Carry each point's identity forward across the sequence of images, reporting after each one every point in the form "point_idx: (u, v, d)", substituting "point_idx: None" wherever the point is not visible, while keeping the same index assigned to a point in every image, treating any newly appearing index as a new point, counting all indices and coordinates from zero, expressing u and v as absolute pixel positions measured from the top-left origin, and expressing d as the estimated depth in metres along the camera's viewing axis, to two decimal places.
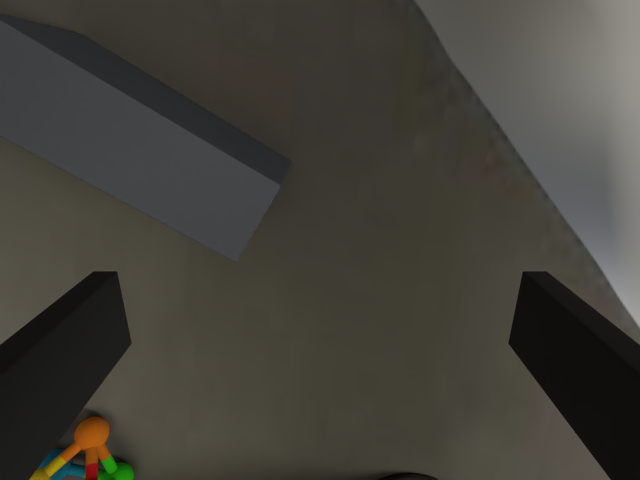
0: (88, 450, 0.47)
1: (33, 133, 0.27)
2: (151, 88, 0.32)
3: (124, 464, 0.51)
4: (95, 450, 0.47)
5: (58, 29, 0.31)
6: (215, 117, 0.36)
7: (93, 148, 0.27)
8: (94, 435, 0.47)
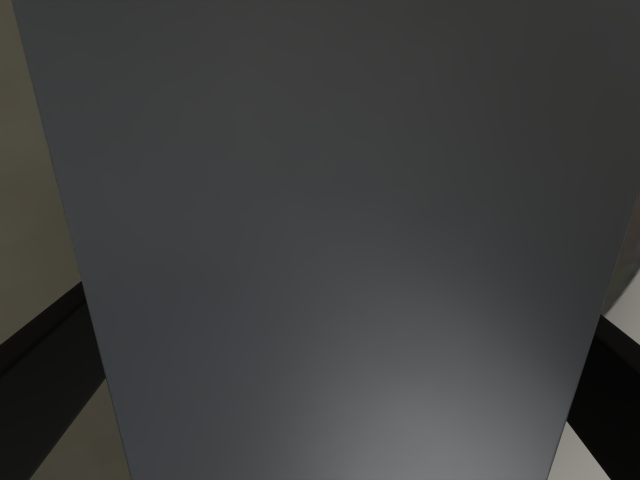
0: None
1: None
2: None
3: None
4: None
5: None
6: None
7: None
8: None
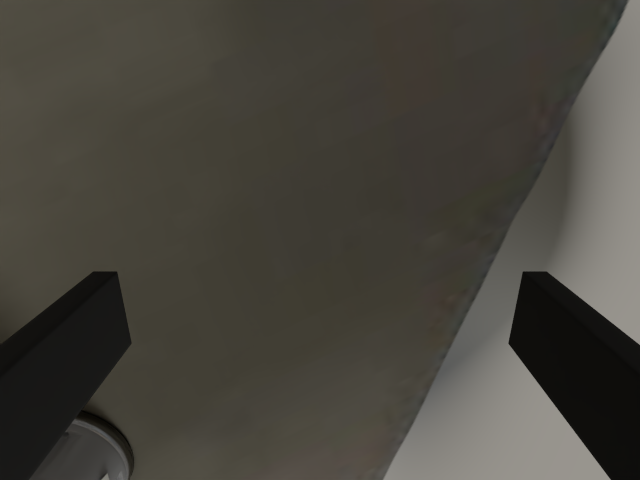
0: None
1: None
2: None
3: None
4: None
5: None
6: None
7: None
8: None
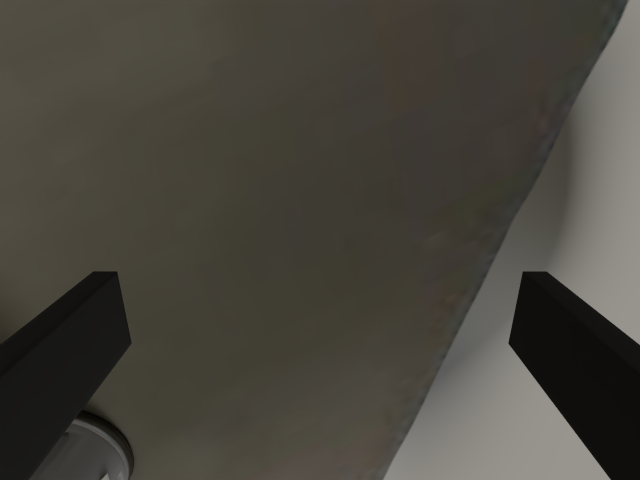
0: None
1: None
2: None
3: None
4: None
5: None
6: None
7: None
8: None
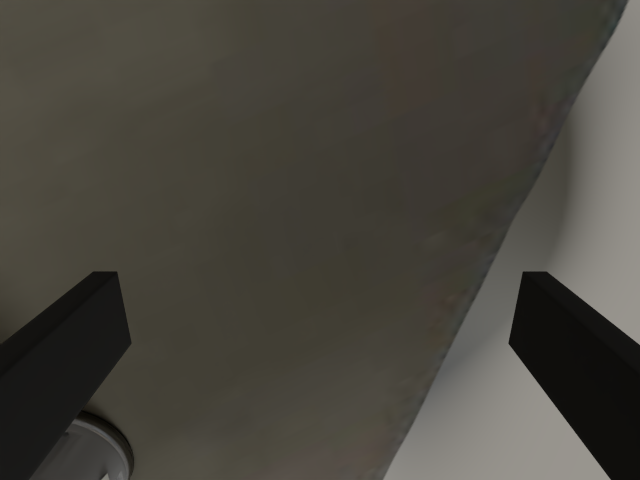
0: None
1: None
2: None
3: None
4: None
5: None
6: None
7: None
8: None
